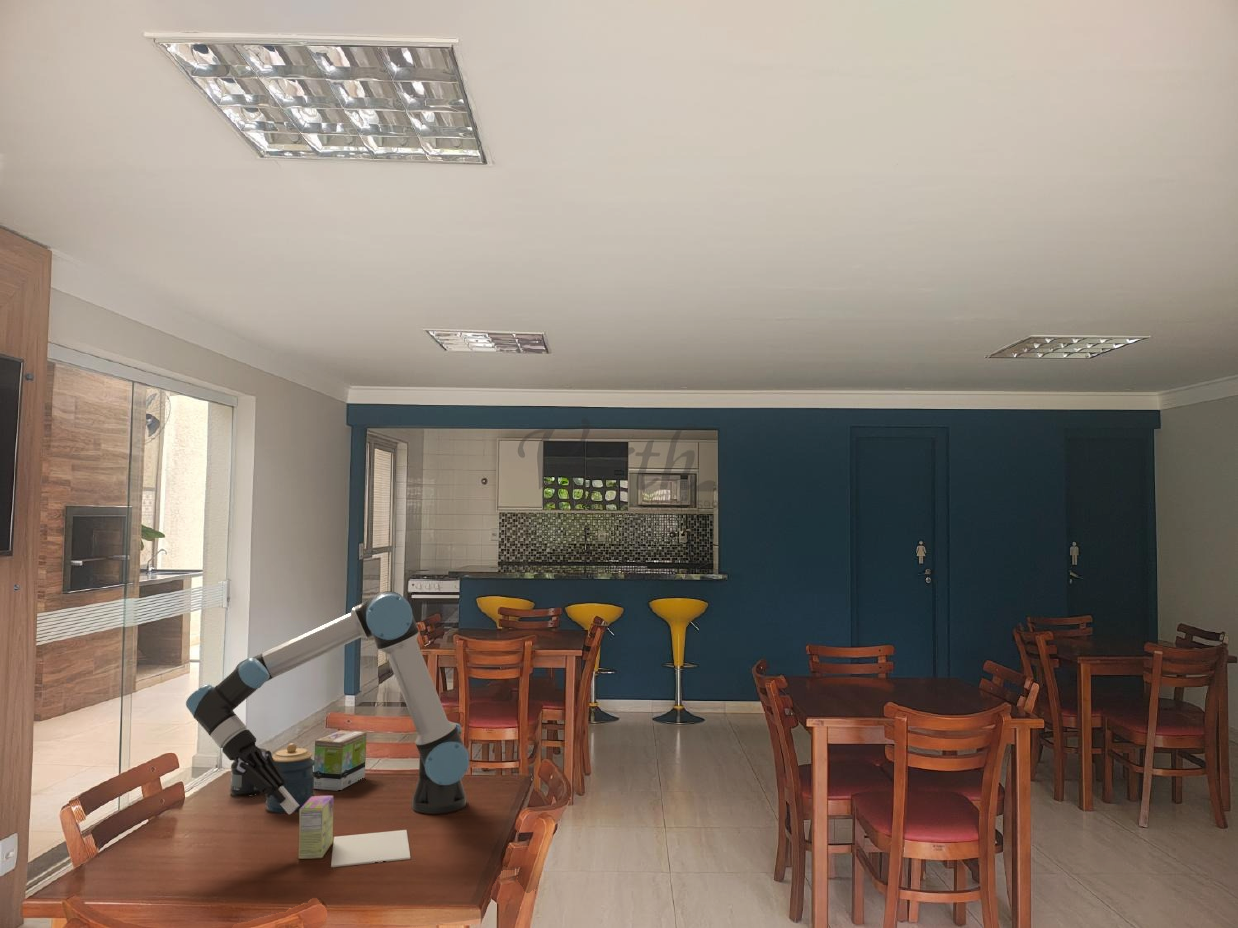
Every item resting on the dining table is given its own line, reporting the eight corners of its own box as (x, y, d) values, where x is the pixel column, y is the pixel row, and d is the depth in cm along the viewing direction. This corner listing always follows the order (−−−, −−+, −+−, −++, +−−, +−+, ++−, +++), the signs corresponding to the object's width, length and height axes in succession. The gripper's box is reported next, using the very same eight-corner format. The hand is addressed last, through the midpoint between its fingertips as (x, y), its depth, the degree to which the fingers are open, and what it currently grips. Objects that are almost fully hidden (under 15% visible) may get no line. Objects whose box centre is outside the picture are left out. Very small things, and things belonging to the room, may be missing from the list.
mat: (406, 831, 222) (406, 829, 222) (410, 858, 203) (410, 857, 203) (334, 838, 217) (334, 836, 217) (331, 867, 198) (331, 865, 198)
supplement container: (275, 789, 259) (276, 749, 260) (247, 799, 249) (249, 757, 250) (250, 785, 263) (251, 746, 264) (221, 795, 254) (223, 753, 255)
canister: (323, 804, 245) (325, 741, 246) (284, 816, 234) (286, 751, 235) (294, 796, 252) (296, 736, 253) (255, 808, 241) (257, 744, 242)
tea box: (341, 791, 257) (343, 741, 259) (311, 789, 259) (313, 739, 261) (366, 777, 272) (367, 730, 273) (337, 775, 274) (338, 729, 275)
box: (309, 843, 213) (311, 795, 214) (332, 843, 214) (334, 794, 215) (297, 859, 203) (299, 808, 204) (322, 858, 203) (323, 807, 204)
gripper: (239, 742, 220) (297, 812, 216) (208, 755, 207) (269, 829, 203) (259, 722, 220) (317, 791, 216) (229, 734, 207) (290, 807, 203)
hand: (294, 809), depth 210 cm, fingers closed
